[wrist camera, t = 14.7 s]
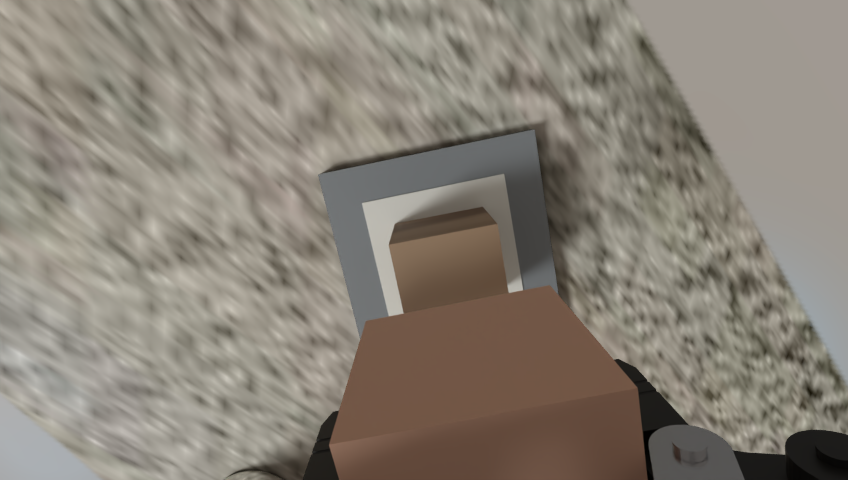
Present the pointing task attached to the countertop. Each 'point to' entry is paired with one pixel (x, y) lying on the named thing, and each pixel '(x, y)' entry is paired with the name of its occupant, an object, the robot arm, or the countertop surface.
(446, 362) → the terracotta block
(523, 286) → the plate
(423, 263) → the walnut block
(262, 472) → the beer glass
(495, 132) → the countertop surface
